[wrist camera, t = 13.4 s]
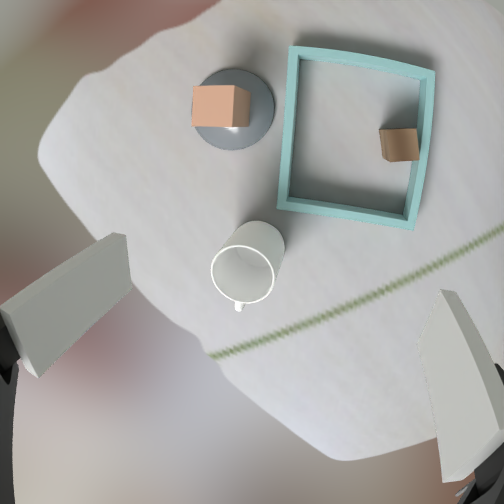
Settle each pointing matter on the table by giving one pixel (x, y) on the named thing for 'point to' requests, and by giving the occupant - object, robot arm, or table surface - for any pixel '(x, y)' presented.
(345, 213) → the corral
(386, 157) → the walnut block
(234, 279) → the cup
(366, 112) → the table surface
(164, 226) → the table surface
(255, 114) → the grey dome puck
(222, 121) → the painted box
